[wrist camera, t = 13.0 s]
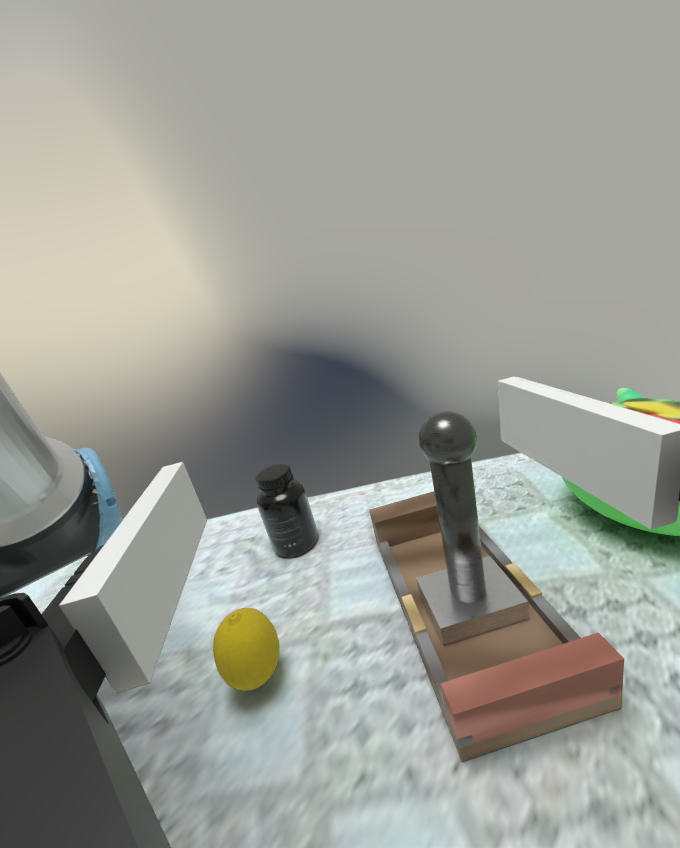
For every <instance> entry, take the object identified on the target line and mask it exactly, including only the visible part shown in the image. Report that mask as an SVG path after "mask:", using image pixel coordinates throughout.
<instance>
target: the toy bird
mask: <svg viewBox="0 0 680 848" xmlns="http://www.w3.org/2000/svg"><path fill="white" fill-rule="evenodd" d="M609 404H612V405H615V406H619V407H622V408H626V409H629V410H633V411H636V412H640V413H643V414H647V415H650V416H654V417H657V418H660V419H664V420H667V421H671V422H674V423H678V424H680V401H674V400H663V399H647V398H644V397H642V396H641V395H640V394H638V393H636V392H635V391H633V390H630V389H628V388H620V389H619V390H618V391H617V402H612V403H609ZM562 478H563V477H562ZM563 480H564V482H565V483H566V485H567V486H568V487H569V489H570V490H571V491H572V492H573V493H574V494H575V495H576V496H577V497H578V498H579V499H580V500H581V501H583V502H584V503H585V504H586V505H588V506H589V507H591V508H592V509H594V510H595V511H597V512H599V513H600V514H602V515H604V516H606V517H608V518H610V519H612V520H614V521H617V522H619V523H622V524H624V525H627V526H630V527H633V528H637V529H640V530H644V531H648V532H653V533H658V534H664V535H673V536H680V501H679V508H678V515H677V521H676V522H674V523H671V524H668V525H665V526H661V527H658V528H655V529H651V530H650V529H649V528H647V527H645V526H644V525H642V524H640V523H639V522H637V521H635V520H634V519H632V518H630V517H629V516H627V515H625V514H624V513H622V512H620V511H619V510H617V509H615V508H614V507H612V506H610V505H609V504H607V503H605V502H604V501H602V500H600V499H599V498H597V497H595V496H594V495H592V494H590V493H588V492H587V491H585V490H583V489H582V488H580V487H578V486H577V485H575V484H573V483H572V482H570V481H568V480H567V479H565V478H563Z"/></svg>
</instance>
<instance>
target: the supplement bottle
mask: <svg viewBox="0 0 680 848" xmlns="http://www.w3.org/2000/svg"><path fill="white" fill-rule="evenodd" d="M256 481H257V484H258V488H259V491H260V493H259V495H258V497H257V506H258V509H259V512H260V515H261V517H262V520H263V523H264V525H265V528H266V531H267V533H268V536H269V539H270V541H271V544H272V547H273V549H274V551H275V552H276V553H277V554H278V555H279V556H282V557H288V558H290V557H296V556H299V555H302V554H304V553H305V552H307V551H308V550H310V549H311V548H312V547H313V546H314V544H315V543H316V541H317V538H318V531H317V528H316V524H315V521H314V518H313V515H312V512H311V508H310V505H309V502H308V499H307V496H306V493H305V489H304V487H303V485H302V484H301V483H300V482H298V481H297V480H294V477H293V474H292V473H291V469H290V467H289V466H288V465H287V464H276V465H272V466H269V467H267V468H265V469H263V470H262V471H260V472H259V473H258V474H257V476H256Z"/></svg>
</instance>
